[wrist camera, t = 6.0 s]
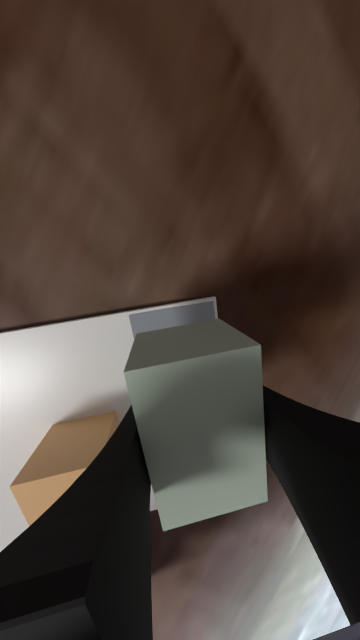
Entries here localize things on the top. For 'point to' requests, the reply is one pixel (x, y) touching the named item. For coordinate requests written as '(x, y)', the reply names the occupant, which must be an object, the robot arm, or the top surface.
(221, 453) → the sage brick
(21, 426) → the baseplate
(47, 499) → the tan brick
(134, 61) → the top surface
